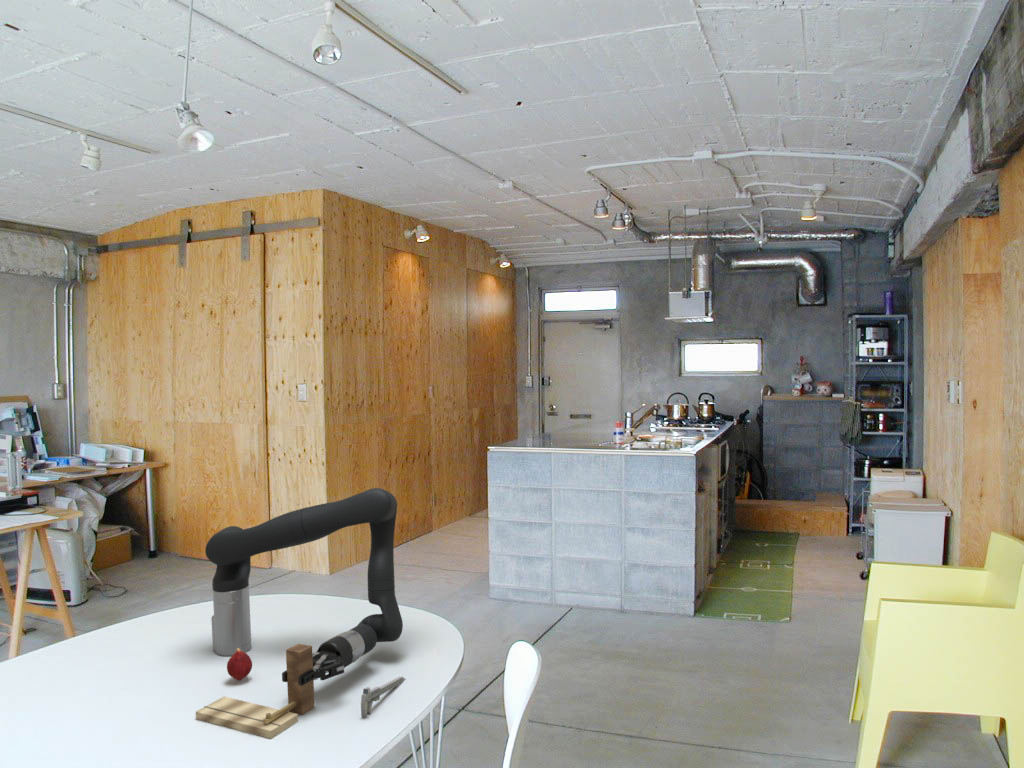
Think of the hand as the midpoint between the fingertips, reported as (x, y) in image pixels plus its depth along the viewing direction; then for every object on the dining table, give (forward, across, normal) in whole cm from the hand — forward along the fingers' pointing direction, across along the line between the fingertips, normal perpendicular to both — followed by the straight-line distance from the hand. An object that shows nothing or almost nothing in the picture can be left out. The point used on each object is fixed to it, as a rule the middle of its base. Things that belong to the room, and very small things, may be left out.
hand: (291, 679), depth 165 cm
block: (+2, 0, +8) cm, 8 cm away
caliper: (-15, +14, +8) cm, 22 cm away
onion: (-9, -25, +8) cm, 28 cm away
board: (+6, -8, +8) cm, 13 cm away
